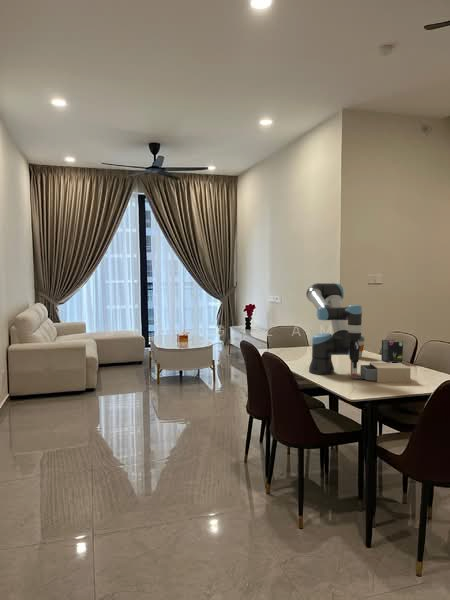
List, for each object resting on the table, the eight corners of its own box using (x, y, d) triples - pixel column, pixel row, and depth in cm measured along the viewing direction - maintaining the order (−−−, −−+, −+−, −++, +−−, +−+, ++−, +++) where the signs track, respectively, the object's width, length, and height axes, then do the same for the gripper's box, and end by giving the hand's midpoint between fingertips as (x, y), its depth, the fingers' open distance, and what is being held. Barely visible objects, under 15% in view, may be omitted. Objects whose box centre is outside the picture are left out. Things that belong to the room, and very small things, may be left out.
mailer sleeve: (377, 382, 245) (377, 368, 244) (369, 376, 260) (369, 362, 259) (410, 382, 244) (410, 368, 244) (400, 376, 259) (400, 362, 259)
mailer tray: (353, 380, 246) (354, 362, 246) (348, 375, 259) (348, 358, 258) (397, 380, 246) (397, 362, 245) (389, 375, 258) (390, 358, 257)
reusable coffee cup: (362, 355, 326) (362, 335, 325) (365, 358, 314) (366, 337, 313) (344, 355, 328) (345, 335, 327) (347, 358, 315) (347, 337, 314)
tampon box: (389, 363, 298) (389, 341, 297) (380, 360, 307) (381, 339, 306) (403, 362, 301) (403, 341, 300) (394, 359, 310) (394, 339, 309)
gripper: (365, 333, 243) (364, 376, 245) (357, 330, 258) (356, 370, 259) (351, 333, 244) (350, 376, 245) (344, 330, 258) (343, 370, 260)
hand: (353, 373), depth 252 cm, fingers closed on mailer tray, 2 cm apart
